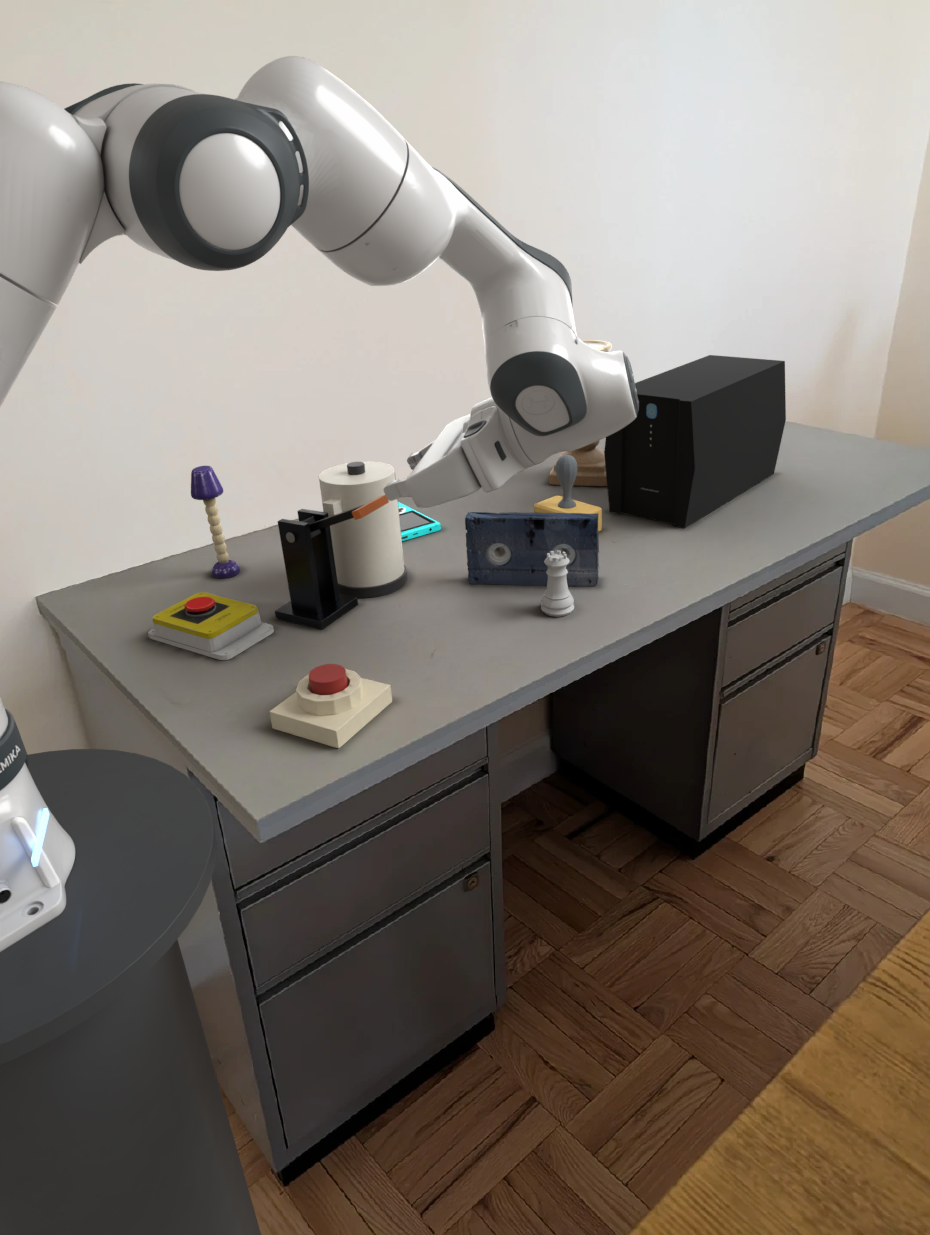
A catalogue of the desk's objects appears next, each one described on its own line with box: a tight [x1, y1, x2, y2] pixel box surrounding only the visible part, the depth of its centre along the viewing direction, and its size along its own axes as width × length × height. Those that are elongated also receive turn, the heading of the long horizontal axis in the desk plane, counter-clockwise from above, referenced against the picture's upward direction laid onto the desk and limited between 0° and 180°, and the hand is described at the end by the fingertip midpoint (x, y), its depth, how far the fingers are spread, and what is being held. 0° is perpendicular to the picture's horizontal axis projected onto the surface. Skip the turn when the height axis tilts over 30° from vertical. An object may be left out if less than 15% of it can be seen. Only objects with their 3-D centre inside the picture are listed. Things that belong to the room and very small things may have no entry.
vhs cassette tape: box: [464, 511, 600, 587], centre depth 124 cm, size 18×3×10 cm, turn 78°
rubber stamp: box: [533, 455, 603, 532], centre depth 142 cm, size 10×6×12 cm, turn 41°
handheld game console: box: [398, 501, 442, 542], centre depth 150 cm, size 10×16×1 cm, turn 33°
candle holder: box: [548, 339, 613, 487], centre depth 162 cm, size 11×11×24 cm
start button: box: [308, 663, 348, 695], centre depth 97 cm, size 4×4×2 cm
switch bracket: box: [274, 508, 359, 630], centre depth 119 cm, size 8×8×14 cm
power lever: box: [300, 495, 389, 538], centre depth 113 cm, size 14×6×2 cm, turn 60°
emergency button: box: [147, 591, 275, 661], centre depth 117 cm, size 9×4×15 cm
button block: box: [269, 668, 393, 749], centre depth 98 cm, size 10×9×4 cm
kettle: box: [318, 460, 408, 599], centre depth 126 cm, size 14×11×18 cm
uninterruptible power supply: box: [603, 354, 787, 529], centre depth 152 cm, size 16×34×20 cm, turn 138°
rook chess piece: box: [540, 551, 575, 618], centre depth 116 cm, size 4×4×8 cm
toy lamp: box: [190, 465, 241, 579], centre depth 133 cm, size 5×5×17 cm
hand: (399, 477), depth 107 cm, fingers open, 8 cm apart
